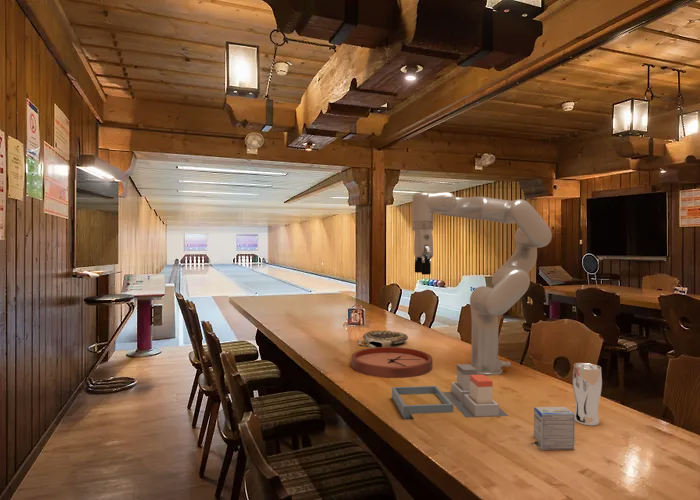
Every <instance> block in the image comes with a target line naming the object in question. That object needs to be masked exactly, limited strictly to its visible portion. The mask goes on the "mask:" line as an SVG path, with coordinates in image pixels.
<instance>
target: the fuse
mask: <svg viewBox="0 0 700 500" xmlns="http://www.w3.org/2000/svg"><path fill="white" fill-rule="evenodd" d="M470 375H477V369H475V368H474V367H473V366H471V364H470V363H465V364H464V363H462V364H460V363H457V364H456V382H457V386H458V387H459V388H460V389H461V390H462V391H470Z"/></svg>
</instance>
